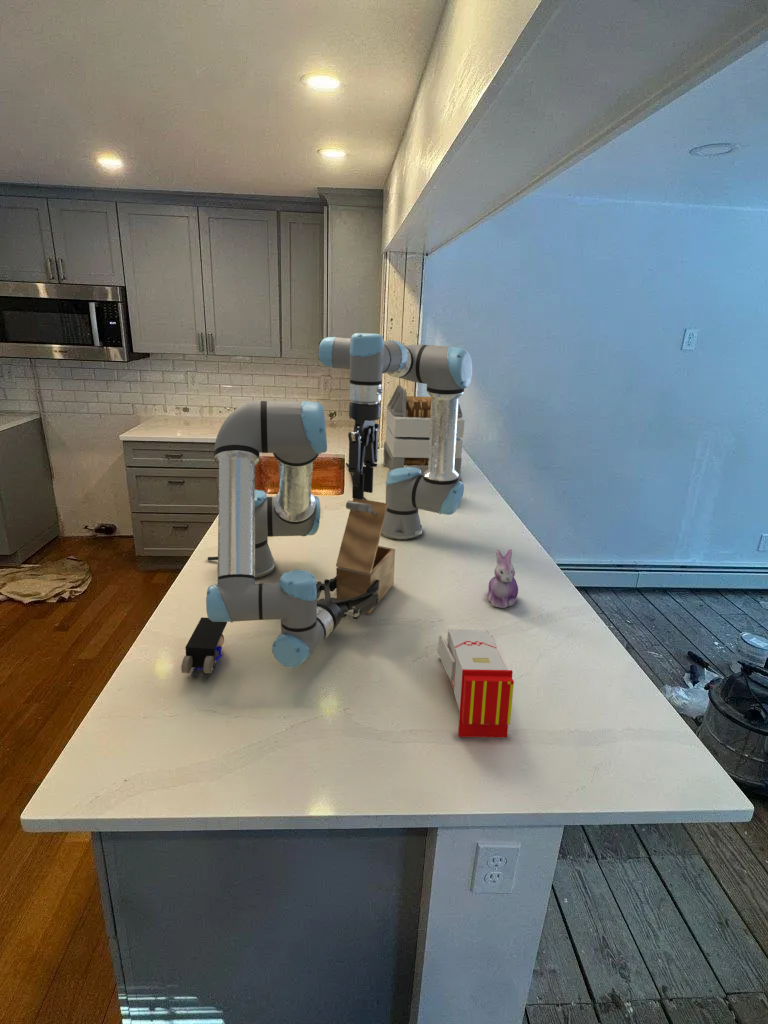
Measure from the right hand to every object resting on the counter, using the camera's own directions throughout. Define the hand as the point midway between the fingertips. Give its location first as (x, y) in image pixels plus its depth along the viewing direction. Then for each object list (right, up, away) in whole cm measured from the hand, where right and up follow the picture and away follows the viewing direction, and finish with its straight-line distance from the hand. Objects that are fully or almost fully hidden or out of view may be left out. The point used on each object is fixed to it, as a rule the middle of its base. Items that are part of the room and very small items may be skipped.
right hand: (362, 494), depth 142 cm
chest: (0, -27, +14) cm, 31 cm away
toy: (+23, -42, -23) cm, 53 cm away
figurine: (+38, -29, +14) cm, 50 cm away
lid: (0, -10, +4) cm, 11 cm away
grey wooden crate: (+23, +15, +133) cm, 136 cm away
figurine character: (-33, -37, -18) cm, 53 cm away
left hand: (-1, -22, +8) cm, 24 cm away
